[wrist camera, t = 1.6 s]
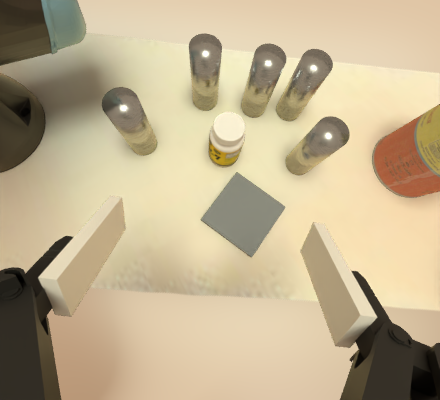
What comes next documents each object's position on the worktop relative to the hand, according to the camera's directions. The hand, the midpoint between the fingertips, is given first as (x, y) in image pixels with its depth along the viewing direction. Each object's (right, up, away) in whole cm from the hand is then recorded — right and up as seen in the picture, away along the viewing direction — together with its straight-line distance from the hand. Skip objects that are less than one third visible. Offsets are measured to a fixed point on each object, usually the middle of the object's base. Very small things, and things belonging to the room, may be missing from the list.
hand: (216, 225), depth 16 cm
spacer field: (+3, +12, +20) cm, 24 cm away
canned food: (+31, +8, +22) cm, 39 cm away
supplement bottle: (+1, +9, +20) cm, 22 cm away
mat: (+4, 0, +18) cm, 18 cm away
